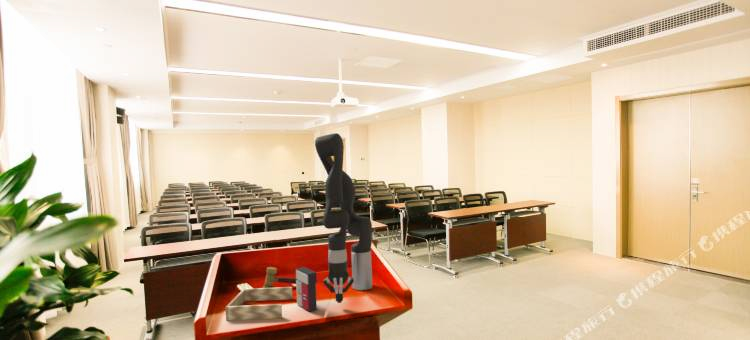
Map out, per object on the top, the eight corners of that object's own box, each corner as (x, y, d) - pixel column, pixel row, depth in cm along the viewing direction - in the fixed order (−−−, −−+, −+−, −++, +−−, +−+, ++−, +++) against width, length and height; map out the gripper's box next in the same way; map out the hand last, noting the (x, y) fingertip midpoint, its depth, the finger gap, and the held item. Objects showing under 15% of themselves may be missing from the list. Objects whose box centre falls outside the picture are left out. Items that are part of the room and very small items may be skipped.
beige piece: (292, 298, 163) (291, 286, 162) (281, 317, 143) (280, 304, 142) (243, 300, 162) (243, 288, 162) (226, 320, 142) (225, 307, 142)
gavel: (306, 291, 182) (310, 270, 183) (308, 294, 178) (312, 273, 179) (262, 288, 174) (266, 266, 175) (263, 291, 170) (267, 268, 171)
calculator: (295, 304, 155) (294, 268, 155) (305, 302, 158) (303, 266, 157) (308, 312, 147) (306, 274, 146) (318, 309, 149) (316, 272, 149)
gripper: (354, 256, 156) (356, 298, 156) (322, 258, 155) (324, 299, 156) (353, 261, 148) (355, 305, 149) (320, 263, 148) (322, 306, 148)
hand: (339, 302), depth 152 cm, fingers closed
